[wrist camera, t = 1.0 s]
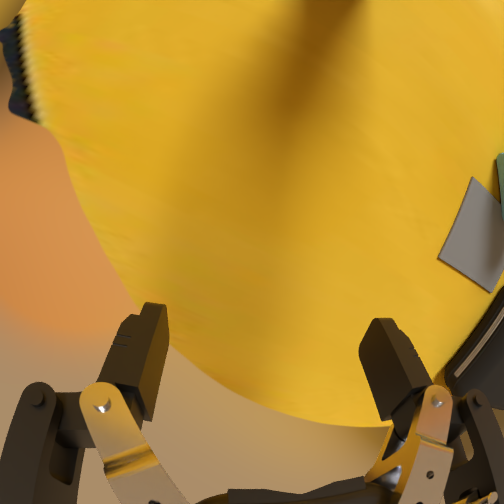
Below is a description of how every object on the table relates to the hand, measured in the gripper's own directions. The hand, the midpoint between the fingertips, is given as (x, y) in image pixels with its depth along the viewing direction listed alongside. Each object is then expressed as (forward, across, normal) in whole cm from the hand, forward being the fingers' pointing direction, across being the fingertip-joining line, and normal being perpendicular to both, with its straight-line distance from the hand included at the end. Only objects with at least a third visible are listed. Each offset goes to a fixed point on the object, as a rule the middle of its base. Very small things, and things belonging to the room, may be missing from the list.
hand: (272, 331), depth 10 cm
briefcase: (+16, -63, +21) cm, 68 cm away
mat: (+21, -39, +2) cm, 45 cm away
